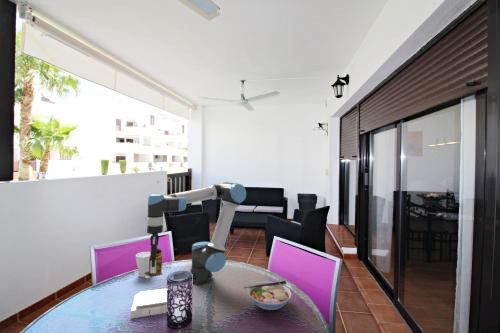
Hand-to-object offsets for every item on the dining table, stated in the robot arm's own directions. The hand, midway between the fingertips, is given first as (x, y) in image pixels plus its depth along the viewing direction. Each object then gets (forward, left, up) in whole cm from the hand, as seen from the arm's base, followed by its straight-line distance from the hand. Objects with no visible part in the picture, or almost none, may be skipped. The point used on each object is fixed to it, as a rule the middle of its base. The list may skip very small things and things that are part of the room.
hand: (153, 270), depth 124 cm
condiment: (0, 0, -2) cm, 2 cm away
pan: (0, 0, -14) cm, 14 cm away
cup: (+8, -40, -19) cm, 45 cm away
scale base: (0, 0, -18) cm, 18 cm away
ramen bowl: (-58, +15, -19) cm, 63 cm away
